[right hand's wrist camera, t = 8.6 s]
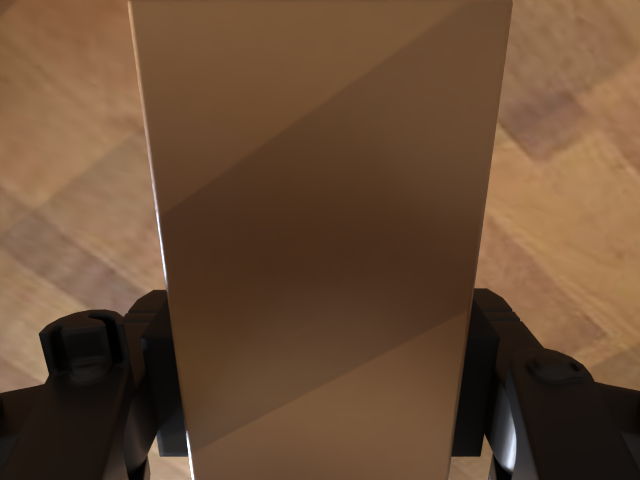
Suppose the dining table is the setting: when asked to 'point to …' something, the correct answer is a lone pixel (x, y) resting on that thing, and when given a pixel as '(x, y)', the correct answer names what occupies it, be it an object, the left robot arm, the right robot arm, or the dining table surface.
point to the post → (320, 223)
